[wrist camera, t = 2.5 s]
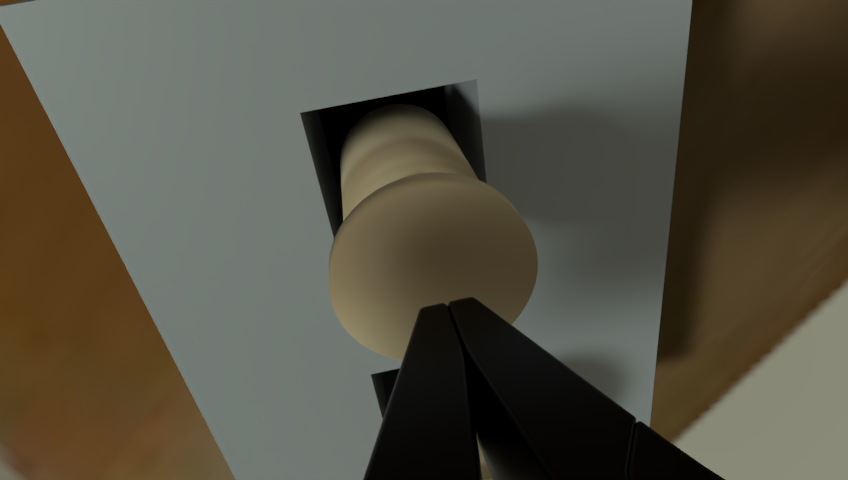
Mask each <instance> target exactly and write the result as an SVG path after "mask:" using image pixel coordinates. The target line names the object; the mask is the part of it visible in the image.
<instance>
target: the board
mask: <svg viewBox="0 0 848 480" xmlns="http://www.w3.org/2000/svg"><path fill="white" fill-rule="evenodd" d="M691 10H692V0H22V1H18V2H14V3H10V4H6V5H2V6H0V24H1V26H2V28H3V30H4V32H5V34H6V36H7V38H8V40H9V42H10V43H11V45H12V47H13V49H14V51H15V53H16V55H17V57H18V59H19V61H20V63H21V65H22V67H23V69H24V71H25V73H26V74H27V76H28V78H29V80H30V82H31V84H32V86H33V88H34V90H35V92H36V94H37V96H38V98H39V100H40V102H41V104H42V105H43V107H44V109H45V111H46V113H47V115H48V117H49V119H50V121H51V123H52V125H53V127H54V129H55V131H56V133H57V134H58V136H59V138H60V140H61V142H62V144H63V146H64V148H65V150H66V152H67V154H68V156H69V158H70V160H71V162H72V164H73V165H74V167H75V169H76V171H77V173H78V175H79V177H80V179H81V181H82V183H83V185H84V187H85V189H86V191H87V193H88V195H89V196H90V198H91V200H92V202H93V204H94V206H95V208H96V210H97V212H98V214H99V216H100V218H101V220H102V222H103V224H104V225H105V227H106V229H107V231H108V233H109V235H110V237H111V239H112V241H113V243H114V245H115V247H116V249H117V251H118V253H119V255H120V256H121V258H122V260H123V262H124V264H125V266H126V268H127V270H128V272H129V274H130V276H131V278H132V280H133V282H134V284H135V286H136V287H137V289H138V291H139V293H140V295H141V297H142V299H143V301H144V303H145V305H146V307H147V309H148V311H149V313H150V315H151V316H152V318H153V320H154V322H155V324H156V326H157V328H158V330H159V332H160V334H161V336H162V338H163V340H164V342H165V344H166V346H167V347H168V349H169V351H170V353H171V355H172V357H173V359H174V361H175V363H176V365H177V367H178V369H179V371H180V373H181V375H182V377H183V378H184V380H185V382H186V384H187V386H188V388H189V390H190V392H191V394H192V396H193V398H194V400H195V402H196V404H197V406H198V407H199V409H200V411H201V413H202V415H203V417H204V419H205V421H206V423H207V425H208V427H209V429H210V431H211V433H212V435H213V437H214V438H215V440H216V442H217V444H218V446H219V448H220V450H221V452H222V454H223V456H224V458H225V460H226V462H227V464H228V466H229V468H230V469H231V471H232V473H233V475H234V477H235V479H236V480H363V478H364V475H365V472H366V469H367V466H368V463H369V460H370V457H371V454H372V451H373V448H374V445H375V442H376V439H377V436H378V433H379V430H380V427H381V424H382V421H383V418H384V415H385V412H386V409H387V406H388V403H389V400H390V397H391V394H392V391H393V388H394V385H395V381H396V378H397V376H398V373H399V370H400V367H401V364H402V361H401V360H397V359H393V358H389V357H386V356H383V355H380V354H378V353H376V352H374V351H372V350H370V349H368V348H366V347H365V346H363V345H362V344H360V343H359V342H358V341H356V340H355V339H354V338H353V337H352V336H351V335H350V334H349V333H348V332H347V331H346V329H345V328H344V327H343V326H342V324H341V323H340V321H339V319H338V317H337V316H336V314H335V311H334V309H333V306H332V303H331V298H330V293H329V258H330V251H331V248H332V244H333V241H334V238H335V236H336V234H337V232H338V229H339V228H340V226H341V225H342V223H343V205H342V188H341V183H339V184H337V182H336V178H335V174H334V170H333V166H332V162H331V158H330V154H329V150H328V146H327V142H326V138H325V134H324V130H323V126H322V122H321V118H320V114H319V110H318V109H323V108H328V107H333V106H338V105H344V104H349V103H354V102H359V101H365V100H370V99H375V98H380V97H386V96H391V95H396V94H401V93H407V92H412V91H417V90H422V89H428V88H433V87H438V86H443V85H444V92H445V100H446V108H447V116H448V124H449V131H450V133H451V134H452V136H453V138H454V139H455V141H456V143H457V144H458V146H459V148H460V149H461V151H462V153H463V154H464V156H465V158H466V159H467V161H468V163H469V165H470V166H471V168H472V170H473V171H474V173H475V175H476V176H477V178H478V180H480V181H482V182H485V183H486V184H488V185H490V186H492V187H493V188H495V189H496V190H498V191H499V192H500V193H502V194H503V195H504V196H505V197H506V198H507V199H508V200H509V201H510V202H511V203H512V204H513V206H514V207H515V208H516V210H517V211H518V213H519V214H520V216H521V217H522V219H523V220H524V222H525V223H526V225H527V226H528V228H529V230H530V232H531V234H532V236H533V238H534V242H535V245H536V249H537V257H538V272H537V278H536V283H535V286H534V289H533V292H532V295H531V297H530V299H529V301H528V303H527V305H526V306H525V308H524V310H523V311H522V313H521V314H520V315H519V317H518V318H517V319H516V320H515V321H514V323H513V324H512V326H514V327H515V328H516V329H518V330H519V331H520V332H522V333H523V334H524V335H526V336H527V337H528V338H530V339H531V340H532V341H534V342H535V343H536V344H538V345H539V346H540V347H542V348H543V349H544V350H546V351H547V352H548V353H550V354H551V355H553V356H554V357H555V358H557V359H558V360H559V361H561V362H562V363H563V364H565V365H566V366H567V367H569V368H570V369H571V370H573V371H574V372H575V373H577V374H578V375H579V376H581V377H582V378H583V379H585V380H586V381H587V382H589V383H590V384H592V385H593V386H594V387H596V388H597V389H598V390H600V391H601V392H602V393H604V394H605V395H606V396H608V397H609V398H610V399H612V400H613V401H614V402H616V403H617V404H618V405H620V406H621V407H622V408H624V409H625V410H626V411H628V412H629V413H631V414H632V415H633V416H635V418H636V422H638V421H642V422H643V423H644V424H646V425H647V426H648V427H650V417H651V407H652V397H653V387H654V377H655V367H656V357H657V347H658V337H659V328H660V318H661V308H662V298H663V288H664V278H665V268H666V258H667V248H668V238H669V228H670V218H671V208H672V198H673V188H674V179H675V169H676V159H677V149H678V139H679V129H680V119H681V109H682V99H683V89H684V79H685V69H686V59H687V49H688V39H689V30H690V20H691Z"/></svg>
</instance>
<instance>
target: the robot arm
mask: <svg viewBox="0 0 848 480" xmlns="http://www.w3.org/2000/svg"><path fill="white" fill-rule="evenodd" d="M477 439H478V441H477ZM478 442H479V445H480V448H481V451H482V454H483V456H484V459H485V462H486V464H487V467H488V469H489V472H490V474H491V477H492V479H493V480H725V479H723V478H722V477H720V476H719V475H717V474H715V473H714V472H712V471H711V470H709V469H708V468H706V467H704V466H703V465H701V464H700V463H698V462H697V461H696V460H694V459H693V458H691V457H690V456H689V455H687V454H686V453H684V452H683V451H681V450H680V449H679V448H677V447H676V446H674V445H673V444H672V443H670V442H669V441H667V440H666V439H665V438H663V437H662V436H660V435H659V434H658V433H656V432H655V431H654V430H652V429H651V428H650V427H648V426H647V425H646V424H644V423H643V422H642V421H638V422H636V418H635V416H633V415H632V414H631V413H629V412H628V411H626V410H625V409H624V408H622V407H621V406H620V405H618V404H617V403H616V402H614V401H613V400H612V399H610V398H609V397H608V396H606V395H605V394H604V393H602V392H601V391H600V390H598V389H597V388H596V387H594V386H593V385H592V384H590V383H589V382H587V381H586V380H585V379H583V378H582V377H581V376H579V375H578V374H577V373H575V372H574V371H573V370H571V369H570V368H569V367H567V366H566V365H565V364H563V363H562V362H561V361H559V360H558V359H557V358H555V357H554V356H553V355H551V354H550V353H548V352H547V351H546V350H544V349H543V348H542V347H540V346H539V345H538V344H536V343H535V342H534V341H532V340H531V339H530V338H528V337H527V336H526V335H524V334H523V333H522V332H520V331H519V330H518V329H516V328H515V327H514V326H512V325H511V324H509V323H508V322H507V321H505V320H504V319H503V318H501V317H500V316H499V315H497V314H496V313H495V312H493V311H492V310H491V309H489V308H488V307H487V306H485V305H484V304H483V303H481V302H480V301H479V300H477V299H476V298H474V297H468V298H463V299H458V300H454V301H450V302H449V303H448V306H447V305H446V304H444V303H440V304H435V305H430V306H426V307H422V308H421V309H420V310H419V312H418V315H417V318H416V321H415V324H414V327H413V330H412V333H411V336H410V339H409V343H408V346H407V349H406V352H405V355H404V358H403V361H402V364H401V367H400V370H399V373H398V376H397V379H396V382H395V385H394V388H393V391H392V394H391V397H390V400H389V403H388V406H387V409H386V412H385V415H384V418H383V421H382V424H381V427H380V430H379V433H378V436H377V439H376V442H375V445H374V448H373V451H372V454H371V457H370V460H369V463H368V466H367V469H366V472H365V475H364V478H363V480H483V478H482V470H481V462H480V455H479V448H478Z"/></svg>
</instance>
